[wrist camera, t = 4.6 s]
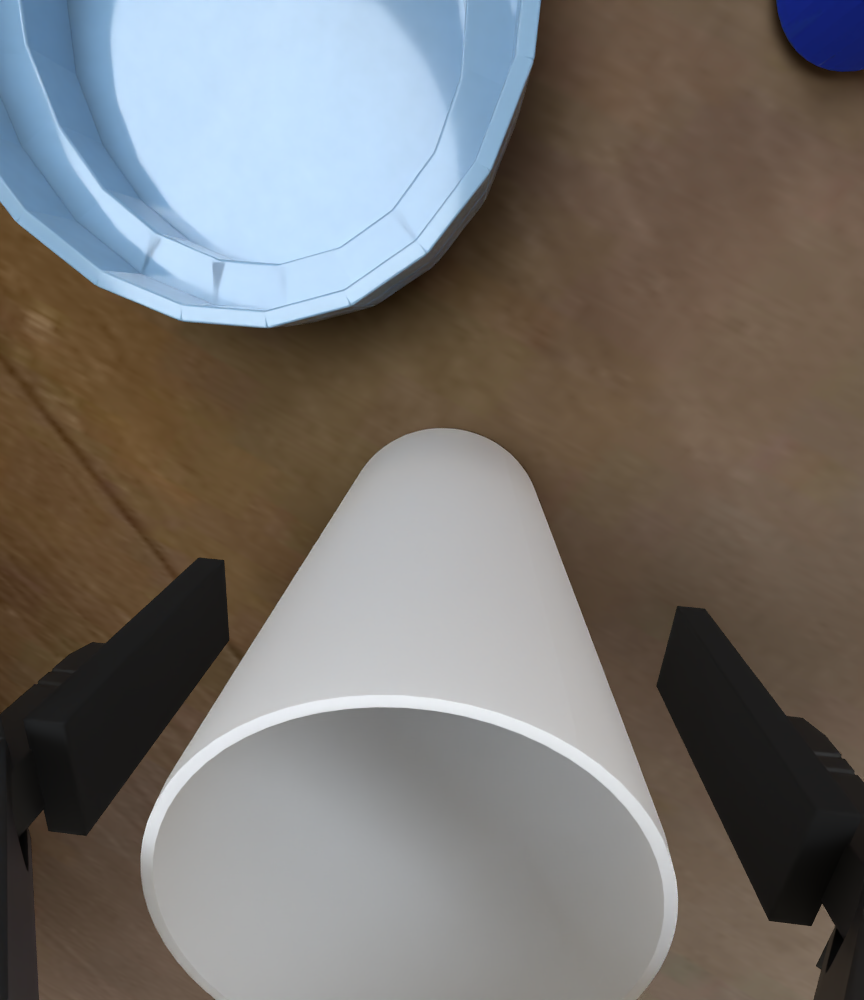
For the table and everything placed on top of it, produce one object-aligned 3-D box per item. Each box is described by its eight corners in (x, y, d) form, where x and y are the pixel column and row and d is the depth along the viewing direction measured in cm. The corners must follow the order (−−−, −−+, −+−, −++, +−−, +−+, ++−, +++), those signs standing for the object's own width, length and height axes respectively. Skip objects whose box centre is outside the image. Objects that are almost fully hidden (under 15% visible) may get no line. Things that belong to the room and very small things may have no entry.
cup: (313, 540, 24) (55, 934, 9) (419, 387, 21) (310, 577, 6) (463, 637, 25) (460, 1129, 10) (580, 503, 23) (807, 891, 8)
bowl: (67, 303, 21) (-46, 303, 16) (-22, -313, 16) (-233, -582, 11) (493, 338, 21) (501, 347, 16) (561, -286, 15) (604, -556, 10)
